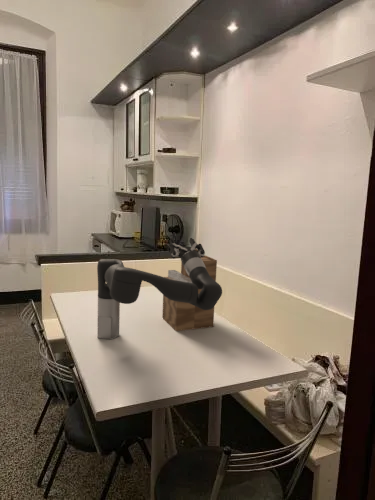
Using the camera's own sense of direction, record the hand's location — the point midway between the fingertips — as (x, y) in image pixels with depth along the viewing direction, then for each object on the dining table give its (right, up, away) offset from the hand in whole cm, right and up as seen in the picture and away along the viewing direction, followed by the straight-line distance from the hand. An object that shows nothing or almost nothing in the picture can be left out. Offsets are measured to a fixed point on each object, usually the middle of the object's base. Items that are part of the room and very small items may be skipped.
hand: (180, 239), depth 162 cm
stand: (+3, -39, +27) cm, 48 cm away
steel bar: (0, -20, +17) cm, 26 cm away
